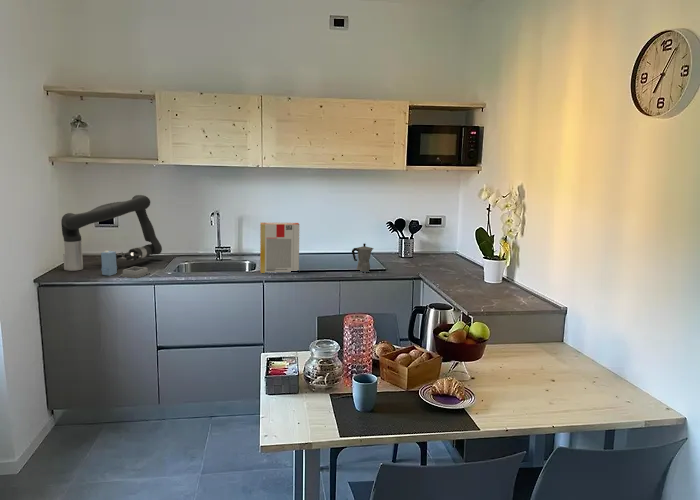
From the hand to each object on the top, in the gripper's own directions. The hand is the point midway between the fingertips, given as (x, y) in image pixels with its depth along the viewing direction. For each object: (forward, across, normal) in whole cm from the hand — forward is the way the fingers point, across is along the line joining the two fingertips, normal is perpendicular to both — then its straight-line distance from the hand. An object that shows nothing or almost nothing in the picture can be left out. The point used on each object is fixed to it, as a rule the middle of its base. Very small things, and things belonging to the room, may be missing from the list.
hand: (120, 258), depth 320 cm
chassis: (+7, +15, +8) cm, 18 cm away
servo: (+10, 0, +8) cm, 13 cm away
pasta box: (-32, +88, +8) cm, 94 cm away
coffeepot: (-52, +135, +8) cm, 145 cm away
